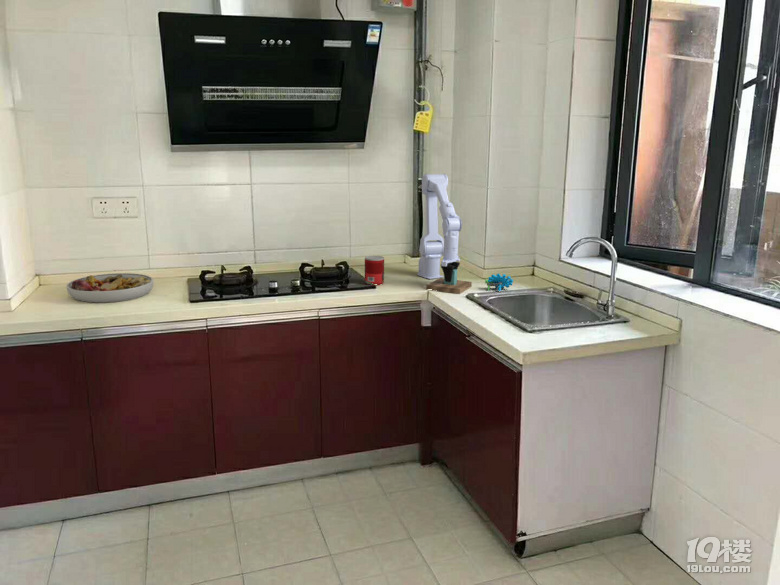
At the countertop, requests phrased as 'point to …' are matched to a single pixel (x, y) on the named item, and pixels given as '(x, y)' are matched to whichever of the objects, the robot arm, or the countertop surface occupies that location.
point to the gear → (499, 281)
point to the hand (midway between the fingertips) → (449, 280)
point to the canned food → (374, 269)
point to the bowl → (110, 287)
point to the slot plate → (449, 286)
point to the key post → (454, 278)
